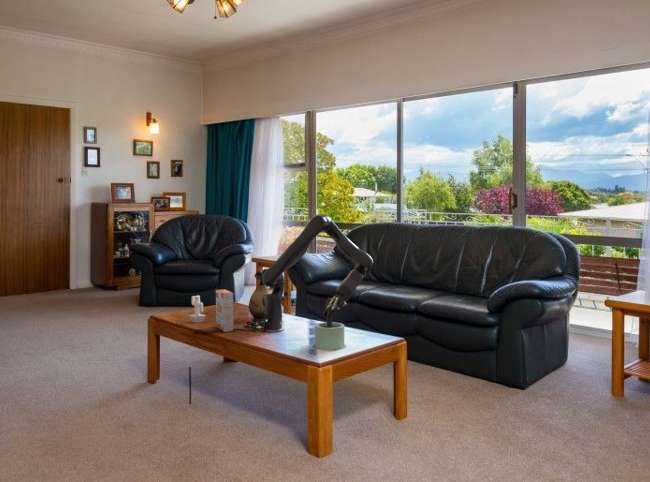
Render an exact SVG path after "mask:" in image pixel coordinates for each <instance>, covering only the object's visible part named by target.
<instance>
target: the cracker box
mask: <svg viewBox="0 0 650 482" xmlns="http://www.w3.org/2000/svg"><path fill="white" fill-rule="evenodd" d="M215 327H216V328H217V330H223V331H222V333H229V332H234V330H233V329H234V292H232V291H230V290H227V289H216V290H215Z"/></svg>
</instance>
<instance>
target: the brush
mask: <svg viewBox="0 0 650 482" xmlns="http://www.w3.org/2000/svg"><path fill="white" fill-rule="evenodd" d="M331 309H332V307H327V314H328V313H329V311H330V310H331ZM326 322H327V328H332V322H333V316H332V317H331V318H330V319H329V318H328V317H326Z"/></svg>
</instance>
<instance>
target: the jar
mask: <svg viewBox="0 0 650 482" xmlns="http://www.w3.org/2000/svg"><path fill="white" fill-rule="evenodd" d="M314 347H315V348H316V349H318V350H324V351H333V350H334V351H335V350H336V351H337V350H340V349H343V348H344V347H345V324H344V323H341V322H334V321H332V328H327V321H326V322H319V323H316V324H314Z"/></svg>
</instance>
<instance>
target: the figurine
mask: <svg viewBox="0 0 650 482" xmlns="http://www.w3.org/2000/svg"><path fill="white" fill-rule="evenodd" d="M191 305H192V306H193V307H194V314H188V317H189V319H190V322H192V323H202V322H204V320H205V318H206V316H207V315H206V314H202V312H203V311H204V303H203V302H202V301H201V296H200V295H192V296H191ZM193 320H194V321H193Z"/></svg>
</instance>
